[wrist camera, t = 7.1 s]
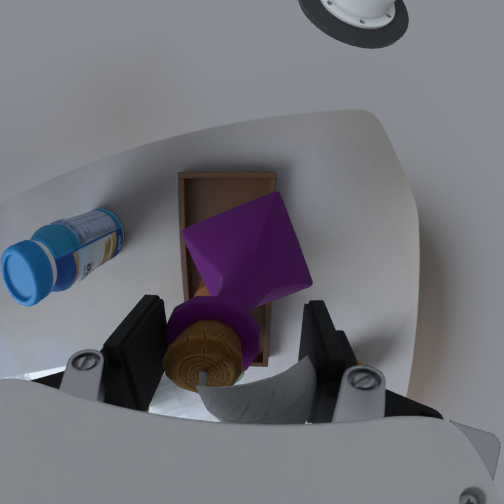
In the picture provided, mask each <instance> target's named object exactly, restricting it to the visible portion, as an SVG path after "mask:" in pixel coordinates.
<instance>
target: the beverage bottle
mask: <svg viewBox="0 0 504 504" xmlns="http://www.w3.org/2000/svg"><path fill="white" fill-rule="evenodd" d="M123 242H124V231H123V227H122V225H121V222H120V221H119V219H118V218H117V217H116V215H115V214H113V213H112V212H110V211H109V210H106V209H95V210H92V211H90V212H88V213H85V214H82V215H79V216H76V217H72V218H69V219H60V220H57V221H55V222H53V223H51V224H50V225H46V226H43V227H41V228H40V229H38V230H37V231H36V232H35V233H34V234H33V236H32V237H31V239H30V240H24V241H22V242H19V243H17V244H14V245H12V246H10V247H9V248H7V249H6V250H5V252H4V253H3V256H2V259H1V272H2V277H3V281H4V283H5V286H6V288H7V290H8V292H9V293H10V295H11V296H12V297H13V298H14V300H15V301H17V302H18V303H19V304H21V305H23V306H27V307H29V306H32V305H35V304H37V303H38V302H39V301H41V300H42V299H44V298H45V297H46V296H47V295H49V293H50V292H51V291H53V292H58V291H63V290H66V289H68V288H70V287H71V286H72V285H73V284H76V283H78V282H80V281H82V280H83V279H84V278H85V277H86V276H87V275H88V274H89V273H91V272H92V271H94V270H95V269H97V268H98V267H99V266H101V265H102V264H104V263H105V262H107V261H108V260H110V259H112V258H113V257H115V256H116V255H117V254H118V253H119V252H120V250H121V248H122V246H123Z"/></svg>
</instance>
